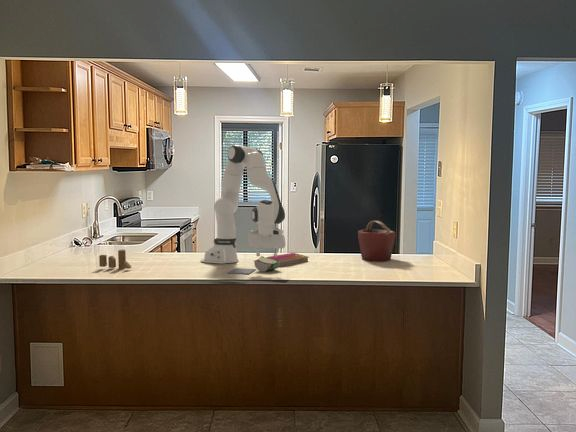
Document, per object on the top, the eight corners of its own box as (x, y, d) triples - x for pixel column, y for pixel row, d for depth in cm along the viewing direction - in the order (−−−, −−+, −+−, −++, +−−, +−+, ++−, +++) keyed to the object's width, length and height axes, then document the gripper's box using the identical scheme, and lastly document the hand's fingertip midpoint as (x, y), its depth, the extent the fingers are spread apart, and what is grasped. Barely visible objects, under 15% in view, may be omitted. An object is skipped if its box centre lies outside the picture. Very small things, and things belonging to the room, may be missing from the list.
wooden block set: (98, 270, 301) (97, 252, 300) (104, 266, 310) (104, 248, 308) (129, 271, 300) (129, 253, 298) (135, 267, 308) (135, 249, 306)
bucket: (398, 264, 329) (399, 222, 327) (361, 264, 327) (362, 222, 325) (387, 258, 353) (388, 219, 351) (353, 258, 352) (354, 219, 350)
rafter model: (270, 269, 309) (271, 259, 308) (252, 266, 318) (252, 256, 318) (309, 262, 335) (309, 252, 335) (291, 260, 345) (291, 250, 344)
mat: (227, 273, 294) (227, 272, 294) (234, 269, 308) (234, 268, 308) (248, 274, 292) (248, 273, 292) (255, 270, 305) (255, 268, 305)
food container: (270, 276, 297) (280, 271, 305) (270, 266, 296) (280, 260, 304) (251, 271, 303) (261, 265, 312) (252, 260, 302) (262, 255, 310)
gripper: (246, 231, 294) (246, 256, 295) (283, 231, 290) (283, 257, 291) (249, 229, 300) (249, 255, 301) (286, 230, 296) (286, 256, 297)
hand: (266, 256), depth 296 cm, fingers open, 8 cm apart
